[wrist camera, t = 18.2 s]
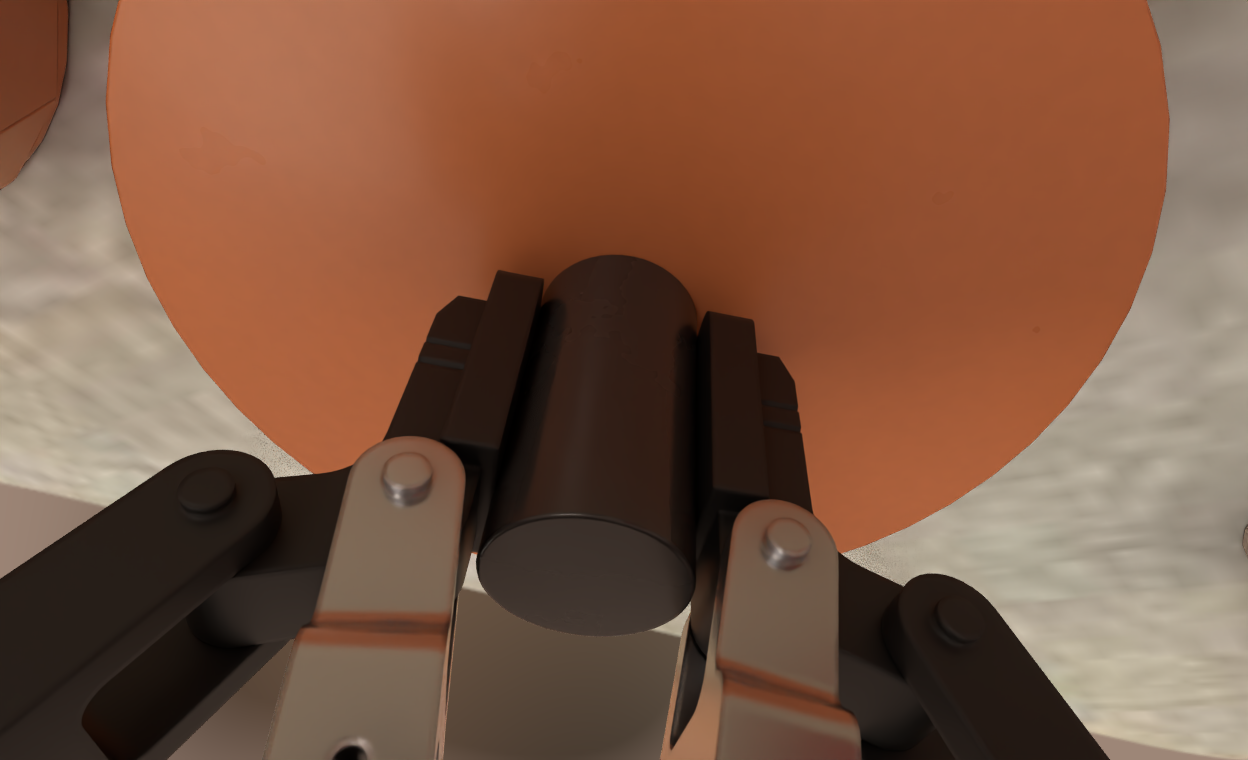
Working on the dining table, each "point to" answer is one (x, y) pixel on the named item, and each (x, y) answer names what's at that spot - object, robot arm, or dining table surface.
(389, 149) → the lid
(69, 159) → the dining table surface
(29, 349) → the dining table surface
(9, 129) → the pan
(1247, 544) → the house plant
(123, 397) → the dining table surface
